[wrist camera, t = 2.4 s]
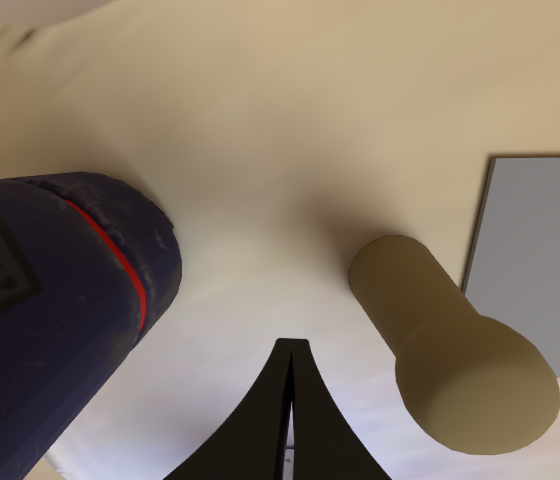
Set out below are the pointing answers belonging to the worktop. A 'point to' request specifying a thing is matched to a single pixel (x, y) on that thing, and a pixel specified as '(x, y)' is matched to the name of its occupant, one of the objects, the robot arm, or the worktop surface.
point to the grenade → (72, 299)
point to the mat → (520, 252)
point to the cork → (453, 354)
